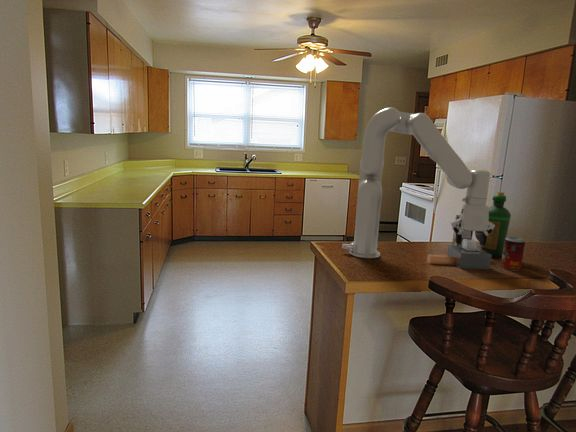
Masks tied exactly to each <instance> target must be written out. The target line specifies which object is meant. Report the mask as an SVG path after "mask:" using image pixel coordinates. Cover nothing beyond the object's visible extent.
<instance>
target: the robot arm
mask: <svg viewBox="0 0 576 432" xmlns="http://www.w3.org/2000/svg"><path fill="white" fill-rule="evenodd" d="M389 132H393V133H397V134H402V135H411V136H413V137H414V138H415V140H416V141H417V142H418V144H419V145H420V146H421V148H422V149H423V151H424V152H425V153H426V155H427V157H429V159H431V160H432V161H433V162H435V164H437V165H438V166H439V167H440V169H441V170H442V171H443V172H444V174H445V175H446V177H445V179H446V183H448V184H449V185H450V186H451V187H453V188H456V189H459V190H464V189H466V193H465V194H466V196H465V197H464V198H462V200H461V201H462V202H464V203H463V204H462V207H461V210H460V214H459V215H460V218H459V219H458V220H455V219H454V220H453V221H451V222H450V226H451V228H452V230H453V232H454V231H455V233H456V238H455V241H456V243H457V244H459V245H460V244H461V239H462V235H461V233H462V232H463V231H464V230H466V231H473V232H475V231H481V232H482V234H481V236H480V242H479V244H481V245H483V246H485V243H486V239H487V236H488V235H489V233H491V232H492V230H493V228H494V227H495V225H494V224H492V223H491V222H489V210H488V208H489V206H488V205H487V201H488V194H489V193H488V192H489V185H490V180H491V172H490V171H489V170H485V169H484V170H483V169H469V168H468V167H467V165H466V164H465V163H464V160H462V158H461V157H460V156H459V155H458V153H456V151H455V150H454V148H453V147H452V146H451V145H450V144H449V143H448V142H447V140H446V139H445V138H444V136H443V134H442V133H441V132H440V130H439V129H438V128H437V126H436V124H435V123H434V122H433V120H432V119H431V117H430V116H429V115H427V114H426V113H424V112H417V113H409V112H405V111H400V110H398V109H397V108H395V107H393V106H392V107H390V106H389V107H385V108H383V109H381V110H379V111H378V112H375V114H373V116H372V117H371V118H370V119H369V121H368V122H367V125H366V126H365V129H364V136H363V142H362V143H363V144H362V152H361V158H360V163H359V175H358V176H359V177H358V189H357V200H356V209H355V210H356V212H355V225H354V235H353V236H354V239H353V241H352V242H351V243H349V244H348V243H341V244H342V245H341V246H342V247H341V248H342V249H345V250H349V254H350V255H352V256H353V257H356V258H361V259H376V258H379V257H380V256H381V252H380V251H378V238H379V229H380V227H379V226H380V219H381V218H380V216H381V207H382V199H383V187H382V181H383V169H384V167H385V166H384V165H385V148H386V141H387V140H386V139H387V136H388V133H389ZM458 223H459V228H458V229H457V228H456V224H458ZM488 225H489V228H488Z"/></svg>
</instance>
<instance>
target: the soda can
mask: <svg viewBox="0 0 576 432" xmlns="http://www.w3.org/2000/svg"><path fill="white" fill-rule="evenodd" d="M525 245H526V241H525V240H524V239H523V238H520V237H517V236H506V238H505V241H504V248H503V255H502V257H501V262H500V263H501V266H502V268H503V269H505V270H509V271H519V270H520V268H521V267H522V265H523V264H522V263H523V258H524V251H525Z"/></svg>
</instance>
